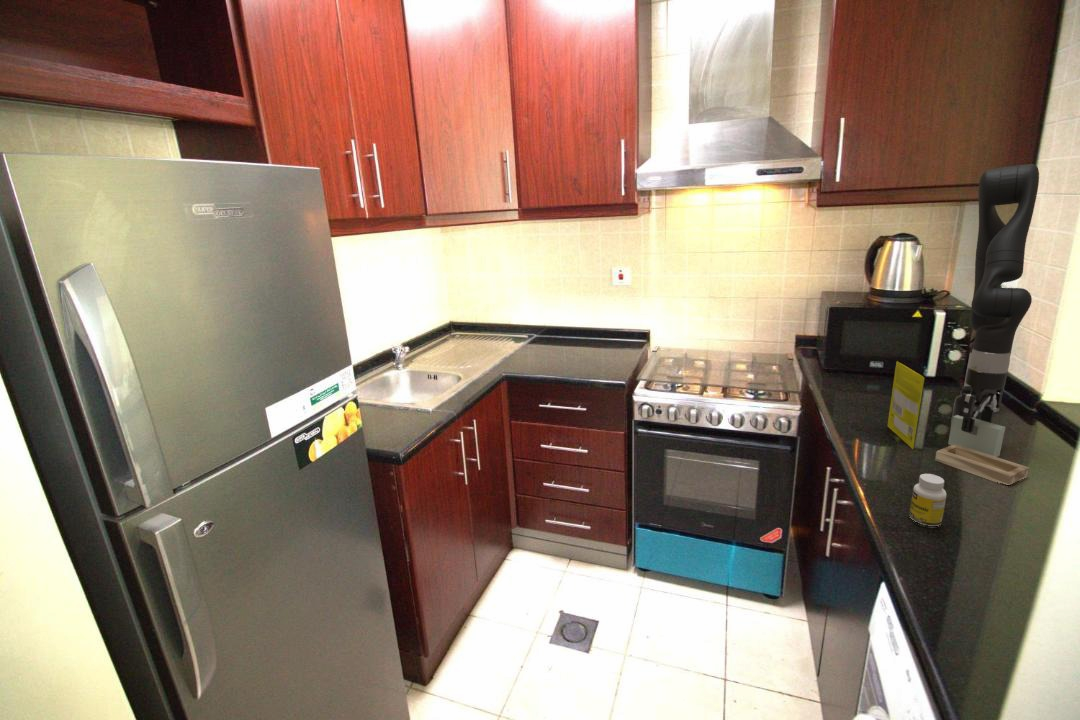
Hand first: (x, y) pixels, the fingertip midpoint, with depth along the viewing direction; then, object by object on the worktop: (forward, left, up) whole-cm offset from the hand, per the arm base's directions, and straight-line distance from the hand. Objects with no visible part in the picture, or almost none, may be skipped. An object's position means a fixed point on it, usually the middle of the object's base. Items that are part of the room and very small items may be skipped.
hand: (976, 428), depth 131 cm
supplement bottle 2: (-13, -8, -6) cm, 17 cm away
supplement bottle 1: (+43, +12, -6) cm, 45 cm away
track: (+10, +6, -6) cm, 13 cm away
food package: (+7, -14, -6) cm, 17 cm away
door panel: (0, 0, -6) cm, 6 cm away
